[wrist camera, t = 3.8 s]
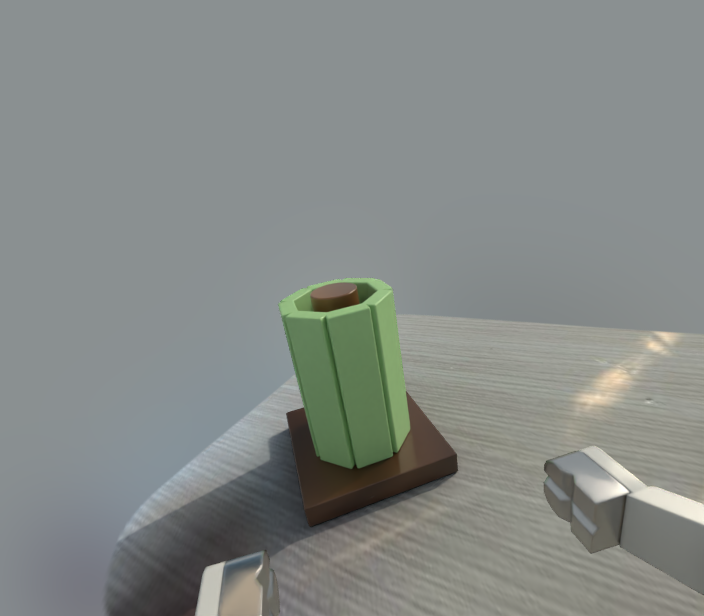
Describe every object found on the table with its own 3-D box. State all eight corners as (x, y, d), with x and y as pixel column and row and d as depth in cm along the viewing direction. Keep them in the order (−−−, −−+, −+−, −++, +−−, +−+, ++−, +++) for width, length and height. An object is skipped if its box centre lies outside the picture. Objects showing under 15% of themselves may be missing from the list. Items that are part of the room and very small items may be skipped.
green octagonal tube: (323, 481, 18) (285, 329, 15) (306, 417, 23) (274, 293, 20) (425, 446, 19) (408, 297, 16) (387, 392, 24) (368, 271, 21)
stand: (309, 528, 17) (255, 341, 14) (289, 426, 25) (251, 288, 21) (458, 471, 19) (444, 291, 15) (398, 392, 26) (380, 258, 23)
